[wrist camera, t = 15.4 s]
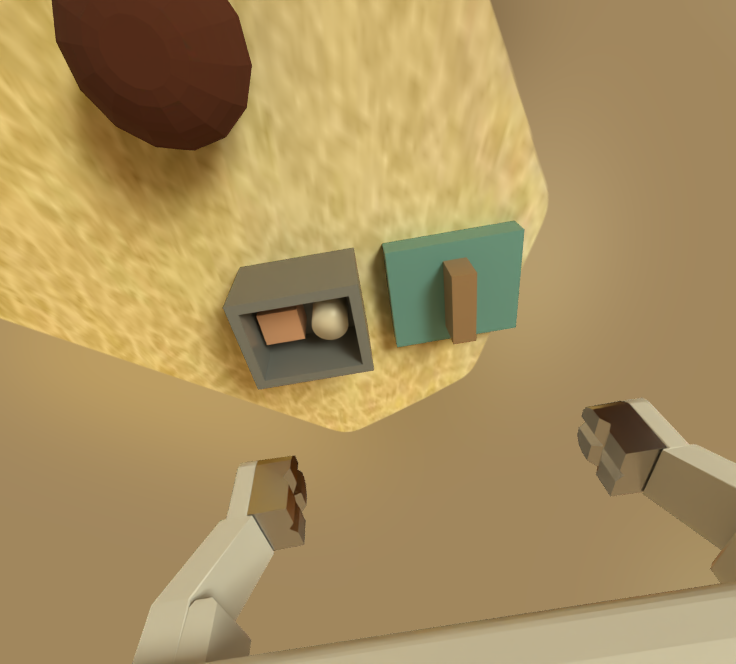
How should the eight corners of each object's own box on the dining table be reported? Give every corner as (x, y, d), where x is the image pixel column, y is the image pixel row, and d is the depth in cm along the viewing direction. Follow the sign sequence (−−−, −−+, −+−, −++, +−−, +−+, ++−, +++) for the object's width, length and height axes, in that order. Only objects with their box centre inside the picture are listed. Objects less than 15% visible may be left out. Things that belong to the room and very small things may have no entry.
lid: (394, 334, 47) (401, 366, 42) (382, 243, 41) (389, 269, 36) (507, 315, 47) (528, 345, 42) (514, 220, 40) (540, 243, 35)
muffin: (288, 26, 30) (273, 15, 22) (236, 161, 35) (208, 193, 27) (120, -92, 26) (23, -161, 18) (89, 80, 31) (3, 89, 23)
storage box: (268, 343, 47) (258, 389, 40) (239, 267, 41) (222, 307, 34) (367, 326, 46) (374, 370, 40) (353, 247, 41) (358, 284, 34)
